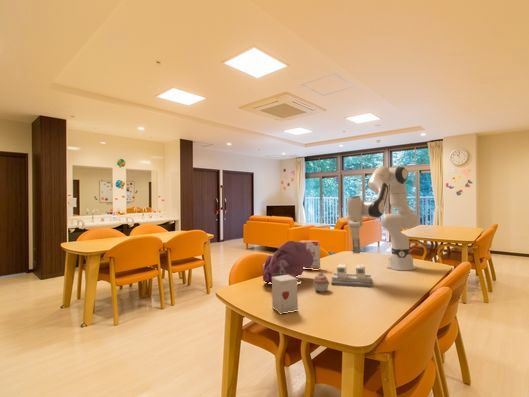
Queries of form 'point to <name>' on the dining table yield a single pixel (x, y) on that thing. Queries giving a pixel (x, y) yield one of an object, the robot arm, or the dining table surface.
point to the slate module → (356, 249)
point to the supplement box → (284, 293)
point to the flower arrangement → (287, 261)
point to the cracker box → (313, 252)
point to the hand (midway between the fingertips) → (356, 245)
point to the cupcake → (321, 283)
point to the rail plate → (351, 277)
